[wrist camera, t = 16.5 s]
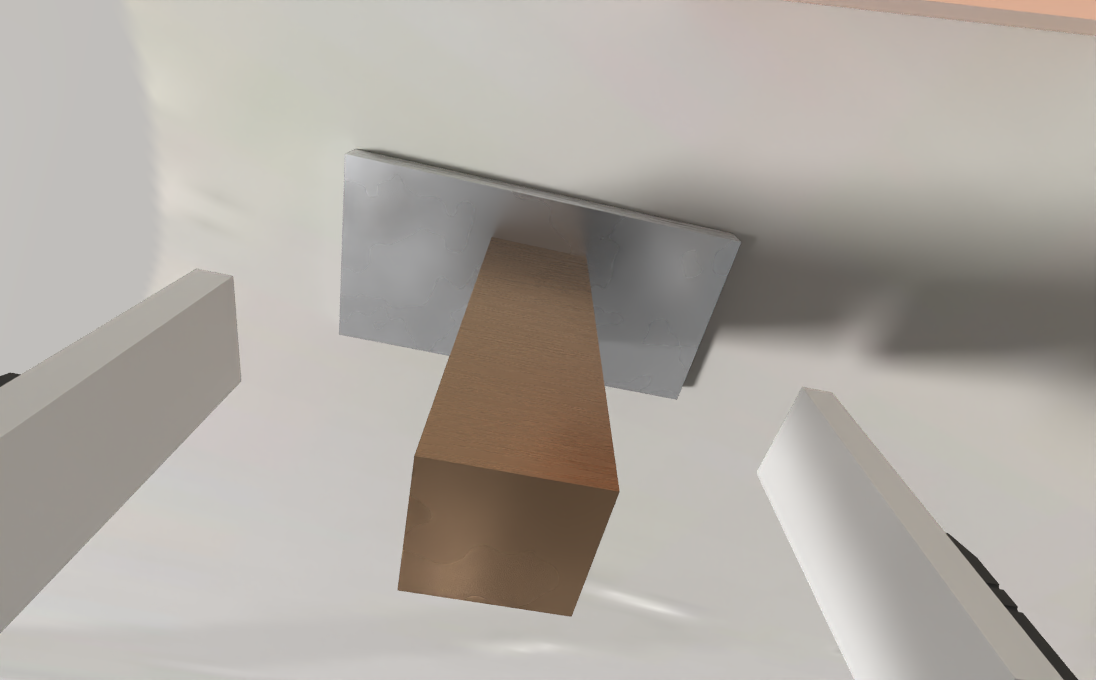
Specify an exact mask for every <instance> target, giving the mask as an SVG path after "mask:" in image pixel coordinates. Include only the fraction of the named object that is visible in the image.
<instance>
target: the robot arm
mask: <svg viewBox="0 0 1096 680" xmlns="http://www.w3.org/2000/svg"><path fill="white" fill-rule="evenodd" d="M240 382H241V371H240V358H239V345H238V332H237V320H236V307H235V294H234V281H233V276H231V275H226V274H221V273H216V272H211V271H205V270H200V269H195V270H193V271H192V272H190V273H188V274H187V275H185V276H183V277H182V278H180V279H178V280H177V281H175V282H173V283H172V284H170V285H168V286H167V287H165V288H163V289H162V290H160V291H158V292H157V293H155V294H154V295H152V296H150V297H149V298H147V299H145V300H144V301H142V302H140V303H139V304H137V305H135V306H134V307H132V308H130V309H129V310H127V311H125V312H124V313H122V314H120V315H119V316H117V317H116V318H114V319H112V320H111V321H109V322H107V323H106V324H104V325H102V326H101V327H99V328H97V329H96V330H94V331H92V332H91V333H89V334H87V335H86V336H84V337H83V338H81V339H79V340H77V341H76V342H74V343H72V344H71V345H69V346H68V347H66V348H64V349H63V350H61V351H59V352H58V353H56V354H54V355H53V356H51V357H49V358H48V359H46V360H44V361H43V362H41V363H40V364H38V365H36V366H35V367H33V368H31V369H29V370H28V371H26V372H24V373H23V374H15V373H8V374H5V375H2V376H0V633H1V632H2V631H3V630H4V629H5V628H6V627H7V626H8V625H9V624H10V623H11V622H12V621H13V619H14V618H15V617H16V616H17V615H18V614H19V613H20V612H21V611H22V610H23V609H24V608H25V607H26V606H27V605H28V604H29V603H30V602H31V601H32V600H33V599H34V598H35V596H36V595H37V594H38V593H39V592H40V591H41V590H42V589H43V588H44V587H45V586H46V585H47V584H48V583H49V582H50V581H51V580H52V579H53V578H54V577H55V576H56V574H57V573H58V572H59V571H60V570H61V569H62V568H63V567H64V566H65V565H66V564H67V563H68V562H69V561H70V560H71V559H72V558H73V557H74V556H75V555H76V554H77V552H78V551H79V550H80V549H81V548H82V547H83V546H84V545H85V544H86V543H87V542H88V541H89V540H90V539H91V538H92V537H93V536H94V535H95V534H96V533H97V532H98V531H99V529H100V528H101V527H102V526H103V525H104V524H105V523H106V522H107V521H108V520H109V519H110V518H111V517H112V516H113V515H114V514H115V513H116V512H117V511H118V510H119V509H120V507H121V506H122V505H123V504H124V503H125V502H126V501H127V500H128V499H129V498H130V497H131V496H132V495H133V494H134V493H135V492H136V491H137V490H138V489H139V488H140V487H141V485H142V484H143V483H144V482H145V481H146V480H147V479H148V478H149V477H150V476H151V475H152V474H153V473H154V472H155V471H156V470H157V469H158V468H159V467H160V466H161V465H162V464H163V462H164V461H165V460H166V459H167V458H168V457H169V456H170V455H171V454H172V453H173V452H174V451H175V450H176V449H177V448H178V447H179V446H180V445H181V444H182V443H183V442H184V440H185V439H186V438H187V437H188V436H189V435H190V434H191V433H192V432H193V431H194V430H195V429H196V428H197V427H198V426H199V425H200V424H201V423H202V422H203V421H204V420H205V418H206V417H207V416H208V415H209V414H210V413H211V412H212V411H213V410H214V409H215V408H216V407H217V406H218V405H219V404H220V403H221V402H222V401H223V400H224V399H225V398H226V397H227V395H228V394H229V393H230V392H231V391H232V390H233V389H234V388H235V387H236V386H237V385H238V384H239V383H240ZM757 475H758V477H759V479H760V482H761V484H762V486H763V488H764V490H765V492H766V494H767V496H768V498H769V501H770V503H771V505H772V507H773V509H774V511H775V513H776V515H777V518H778V520H779V522H780V524H781V526H782V528H783V530H784V532H785V534H786V537H787V539H788V541H789V543H790V545H791V547H792V549H793V551H794V554H795V556H796V558H797V560H798V562H799V564H800V566H801V568H802V570H803V573H804V575H805V577H806V579H807V581H808V583H809V585H810V587H811V589H812V592H813V594H814V596H815V598H816V600H817V602H818V604H819V606H820V609H821V611H822V613H823V615H824V617H825V619H826V621H827V623H828V625H829V628H830V630H831V632H832V634H833V636H834V638H835V640H836V642H837V644H838V647H839V649H840V651H841V653H842V655H843V657H844V659H845V661H846V664H847V666H848V668H849V670H850V672H851V674H852V676H853V678H854V680H1078V679H1077V678H1076V677H1075V675H1074V674H1073V673H1072V672H1071V671H1070V669H1069V668H1068V667H1067V666H1066V665H1065V663H1064V662H1063V661H1062V660H1061V659H1060V657H1059V656H1058V655H1057V654H1056V652H1055V651H1054V650H1053V649H1052V648H1051V646H1050V645H1049V644H1048V643H1047V642H1046V640H1045V639H1044V638H1043V637H1042V636H1041V634H1040V633H1039V632H1038V631H1037V630H1036V628H1035V627H1034V626H1033V625H1032V624H1031V622H1030V621H1029V620H1028V619H1027V617H1026V616H1025V615H1024V614H1023V613H1021V612H1018V610H1017V608H1018V607H1017V605H1016V604H1015V603H1014V602H1013V601H1012V599H1011V598H1010V597H1009V596H1008V595H1007V593H1006V592H1005V591H1004V590H1001V589H999V584H998V582H997V581H996V580H995V579H994V578H993V576H992V575H991V574H990V573H989V572H988V570H987V569H986V568H985V567H984V566H983V564H982V563H981V562H980V561H979V560H978V558H977V557H975V556H974V555H973V554H972V553H971V552H970V551H968V550H967V549H966V548H965V547H964V546H963V545H961V544H960V543H959V542H958V541H957V540H955V539H954V538H953V537H952V536H951V535H950V534H948V533H945V532H944V531H943V529H942V528H941V527H940V526H939V524H938V523H937V522H936V521H935V519H934V518H933V517H932V516H931V514H930V513H929V512H928V511H927V510H926V508H925V507H924V506H923V505H922V503H921V502H920V501H919V500H918V498H917V497H916V496H915V495H914V493H913V492H912V491H911V490H910V488H909V487H908V486H907V485H906V483H905V482H904V481H903V480H902V478H901V477H900V476H899V475H898V474H897V472H896V471H895V470H894V469H893V467H892V466H891V465H890V464H889V462H888V461H887V460H886V459H885V457H884V456H883V455H882V454H881V452H880V451H879V450H878V449H877V447H876V446H875V445H874V444H873V442H872V441H871V440H870V439H869V438H868V436H867V435H866V434H865V433H864V431H863V430H862V429H861V428H860V426H859V425H858V424H857V423H856V421H855V420H854V419H853V418H852V416H851V415H850V414H849V413H848V411H847V410H846V409H845V408H844V406H843V405H842V404H841V403H840V402H839V400H838V399H837V398H836V397H835V395H834V394H833V393H831V392H826V391H821V390H816V389H811V388H806V387H802V388H801V390H800V392H799V394H798V396H797V398H796V400H795V401H794V403H793V405H792V407H791V409H790V411H789V413H788V415H787V416H786V418H785V420H784V422H783V424H782V426H781V428H780V430H779V431H778V433H777V435H776V437H775V439H774V441H773V443H772V445H771V446H770V448H769V450H768V452H767V454H766V456H765V458H764V460H763V461H762V463H761V465H760V467H759V469H758V471H757Z"/></svg>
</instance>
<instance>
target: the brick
mask: <svg viewBox="0 0 1096 680" xmlns="http://www.w3.org/2000/svg"><path fill="white" fill-rule="evenodd" d="M783 1H792V2H801V3H810V4H818V5H827V6H836V7H845V8H854V9H862V10H871V11H880V12H889V13H898V14H906V15H915V16H924V17H933V18H942V19H950V20H959V21H968V22H977V23H986V24H994V25H1003V26H1012V27H1021V28H1030V29H1038V30H1047V31H1056V32H1065V33H1074V34H1082V35H1091V36H1096V0H783Z"/></svg>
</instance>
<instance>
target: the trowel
mask: <svg viewBox="0 0 1096 680" xmlns="http://www.w3.org/2000/svg"><path fill="white" fill-rule="evenodd" d="M740 244H741V242H740V241H739V239H738V238H737V237H736V236H735V235H734V234H733V233H728V232H724V231H720V230H715V229H711V228H706V227H702V226H697V225H693V224H688V223H684V222H679V221H675V220H670V219H666V218H662V217H657V216H653V215H648V214H644V213H639V212H635V211H630V210H626V209H621V208H617V207H613V206H608V205H604V204H599V203H595V202H590V201H586V200H581V199H577V198H572V197H568V196H563V195H559V194H555V193H550V192H546V191H541V190H537V189H532V188H528V187H523V186H519V185H514V184H510V183H505V182H501V181H497V180H492V179H488V178H483V177H479V176H474V175H470V174H465V173H461V172H456V171H452V170H448V169H443V168H439V167H434V166H430V165H425V164H421V163H416V162H412V161H407V160H403V159H398V158H394V157H390V156H385V155H381V154H376V153H372V152H367V151H363V150H358V149H354V150H352V151H350V152H348V153H346V154H345V166H344V198H343V229H342V261H341V293H340V324H339V335H345V336H350V337H355V338H360V339H365V340H371V341H376V342H381V343H386V344H391V345H396V346H402V347H407V348H412V349H417V350H422V351H428V352H433V353H438V354H443V355H448V356H449V359H448V362H447V365H446V368H445V371H444V373H443V376H442V379H441V382H440V385H439V388H438V390H437V393H436V396H435V399H434V402H433V405H432V408H431V410H430V413H429V416H428V419H427V422H426V425H425V427H424V430H423V433H422V436H421V439H420V442H419V444H418V447H417V450H416V453H415V456H414V464H413V472H412V480H411V488H410V496H409V504H408V512H407V520H406V528H405V536H404V544H403V551H402V559H401V567H400V575H399V583H398V590H399V591H406V592H413V593H419V594H426V595H432V596H439V597H446V598H452V599H459V600H465V601H472V602H478V603H485V604H492V605H498V606H505V607H511V608H518V609H525V610H531V611H538V612H544V613H551V614H557V615H564V616H572V614H573V611H574V609H575V606H576V603H577V601H578V598H579V596H580V593H581V590H582V588H583V585H584V583H585V580H586V577H587V575H588V572H589V570H590V567H591V564H592V562H593V559H594V557H595V554H596V551H597V549H598V546H599V544H600V541H601V538H602V536H603V533H604V531H605V528H606V525H607V523H608V520H609V518H610V515H611V512H612V510H613V507H614V505H615V502H616V499H617V497H618V494H619V485H618V478H617V471H616V464H615V457H614V450H613V442H612V435H611V428H610V421H609V414H608V407H607V400H606V393H605V386H609V387H614V388H619V389H625V390H630V391H635V392H640V393H645V394H650V395H656V396H661V397H666V398H671V399H676V400H677V398H678V396H679V393H680V391H681V388H682V386H683V384H684V381H685V379H686V376H687V374H688V371H689V369H690V366H691V364H692V362H693V359H694V357H695V354H696V352H697V349H698V347H699V344H700V342H701V340H702V337H703V335H704V332H705V330H706V327H707V325H708V322H709V320H710V318H711V315H712V313H713V310H714V308H715V305H716V303H717V300H718V298H719V296H720V293H721V291H722V288H723V286H724V283H725V281H726V278H727V276H728V274H729V271H730V269H731V266H732V264H733V261H734V259H735V256H736V254H737V252H738V249H739V247H740Z"/></svg>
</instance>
